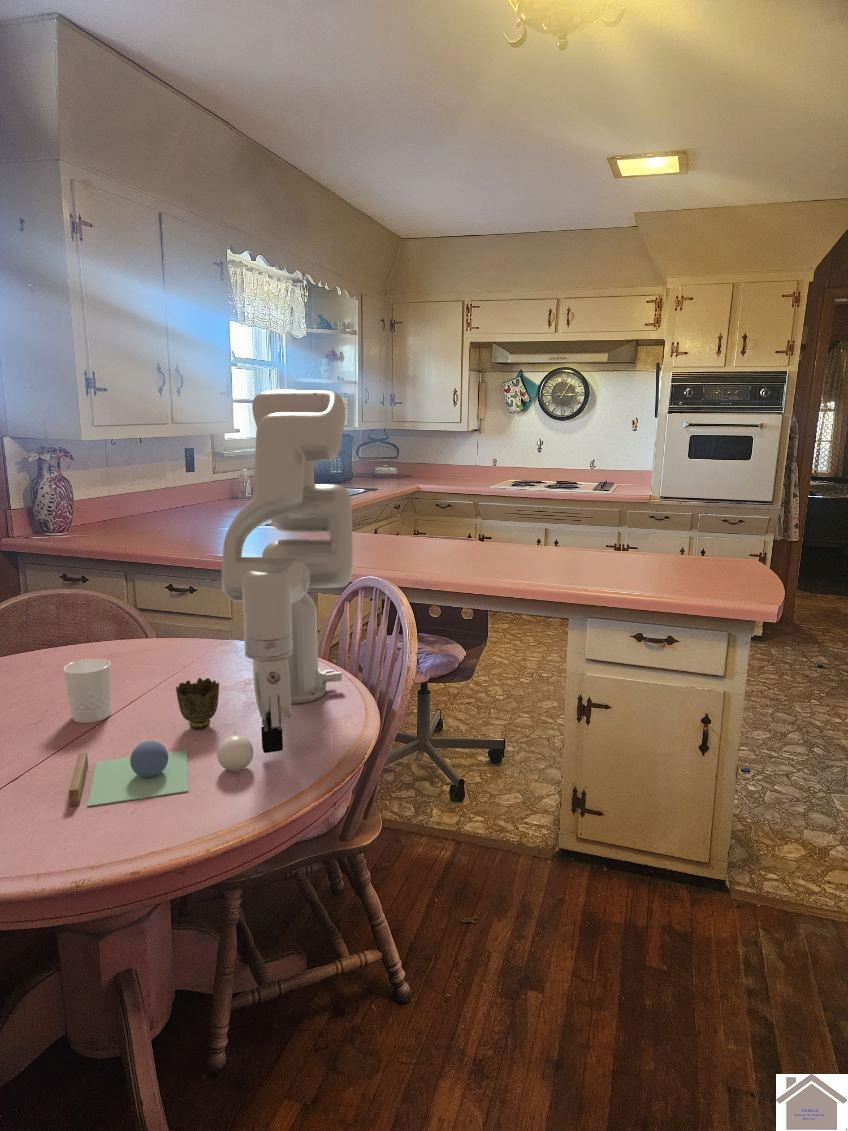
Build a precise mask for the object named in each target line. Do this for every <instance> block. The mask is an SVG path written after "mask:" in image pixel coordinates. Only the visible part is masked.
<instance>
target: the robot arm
mask: <svg viewBox="0 0 848 1131" xmlns="http://www.w3.org/2000/svg"><path fill="white" fill-rule="evenodd" d="M251 405H252V415H253V420H254V423H255V426H256V432H255V433H256V434H255V450H254V452H255V454H254V473H253V492H252V496H251V499H250V501H249V502H247V503H246V504H245V506H244V507H242V508H241V509H240V511H239V512H238V513H237V514H236V515H235V517H234V518H233V519H232V521H231V523H230V525H229V526H228V528H227V532H226V534H225V537H224V542H223V548H222V549H223V550H222V561H221V562H222V563H221V564H222V565H221V588H222V591H223V593H224V595H225V596H226V598H228V599H229V600H231V601H233V602H241V603H242V613H243V614H242V615H243V636H244V637H243V638H244V640H243V641H244V656H245V657H246V658H248V659H250V660H252V669H253V670H252V674H253V688H254V694H255V702H256V705H257V708H258V712H259V716H260V718H261V724H262V726H261V728H260V729H261V748H262V751H263V753H264V754H268V753H269V754H270V753H276V752H282V751H283V750H284V746H283V744H284V743H283V741H284V739H283V727H282V713H283V715H284V717H288V718H290V717H291V716H292V714H293V711H292V710H293V709H292V704H293V705H294V704H303V703H308V702H312V701H315V700H317V699H320V698H321V697H323V696H325V695H326V692H327V683H331V682H333V683H336V682H341V681H342V679H343V678H342V676H343V675H342V671H335V672H334V670H333V669H326V670H322V669H320V666H319V651H318V650H319V646H318V645H319V644H318V642H319V641H318V640H319V639H318V638H319V637H318V609H317V606H316V604H315V601H314V600H313V598H312V597H311V596H310V595H309V593H308V590H309V589H336V588H338V589H339V588H344V587H346V586H347V585H348V584H349V583H350V581H351V579H352V575H353V563H354V562H353V558H354V557H353V505H352V504H353V503H352V499H351V495H350V493H349V490H348V489H346V488H345V486H342V485H340V484H331V483H329V484H328V483H326V484H325V483H324V484H322V483H318V484H316V483H315V462H329V461H333V460H334V459H336V458H337V456H338V455H339V452H340V449H341V444H342V440H343V432H344V427H345V422H346V408H345V402H344V400H343V398H342V395H341V394H339V393H337V392H336V391H332V390H309V389H308V390H306V389H303V390H301V389H274V390H267V391H261V392H260V393H257V394H256V395H255V396H254V397H253V400H252V404H251ZM270 520H271V524H272V526H273V527H274V529H276V530H278V531H279V532H285V533H318V534H320V533H321V534H323V533H325V534H326V535H328V537H329V539H306V538H302V539H301V538H299V539H297V538H296V539H295V538H292V539H290V538H289V539H286V538H285V539H279V540H275V541H271V542H270V543H268V544H267V545H266V547H265V548H264V549H263V551H262V555H261V556H258V557H256V556H255V557H254V556H249V557H248V556H242V555H243V547H244V544H245V542H246V539H247V538H248V536H250V534H251V533H252V532H253V531H254V530H255V529H257V528H258V527H259V526H261V525H262V524H264V523H266V522H269V521H270Z"/></svg>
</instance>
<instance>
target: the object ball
mask: <svg viewBox="0 0 848 1131" xmlns="http://www.w3.org/2000/svg"><path fill="white" fill-rule="evenodd" d="M167 750H168V749H167V748H166V747H165V746H164V745H163V744H162V743H161V742H159V741H157V740H146V741H143V742H141V743H139V744H138V745H136V746H135V747H134V749H133V750H132V752H131V754H130V757H131V758H130V764H131V768H132V770H133V771H134V772H135V773H136V774H137V775H139V776H141V777H145V778H150V777H154V776H157V775H158V774H160V773H161V772H162V771H163V770H164V769H165V767H166V766H167V763H168V752H169V751H167Z"/></svg>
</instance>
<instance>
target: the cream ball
mask: <svg viewBox="0 0 848 1131" xmlns="http://www.w3.org/2000/svg"><path fill="white" fill-rule="evenodd" d="M216 753H217V756H216V758H217V762H219V764H220V766H221V767H222V768H223V769H224V770H227V771H229V772H240V771H243V770H244V769H246V768H247V767H248V766H249V765H250V764H251V762H252V760H253V757H254V747H253V744H252V743H251V741H250V740H249V739H248V738H247V737H245V736H242V735H239V734H235V735H230V736H227V737H226V738H225V739H223V740H222V742H221V743H220V744H219V746H218V748H217V752H216Z"/></svg>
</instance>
